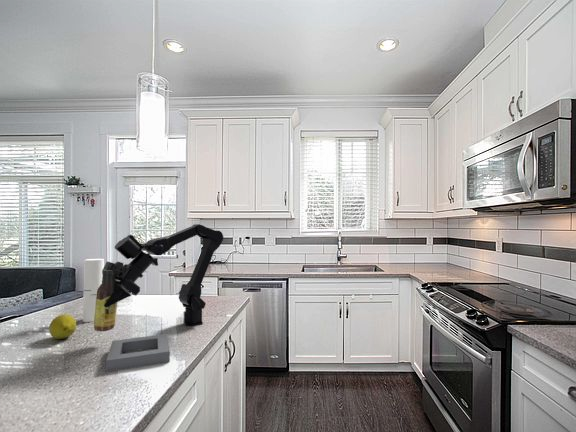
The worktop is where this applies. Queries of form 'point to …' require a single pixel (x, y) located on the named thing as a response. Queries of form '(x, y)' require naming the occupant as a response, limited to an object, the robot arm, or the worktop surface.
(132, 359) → the socket frame
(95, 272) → the cylindrical container
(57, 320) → the lemon
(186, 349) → the worktop surface
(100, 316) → the sauce bottle
